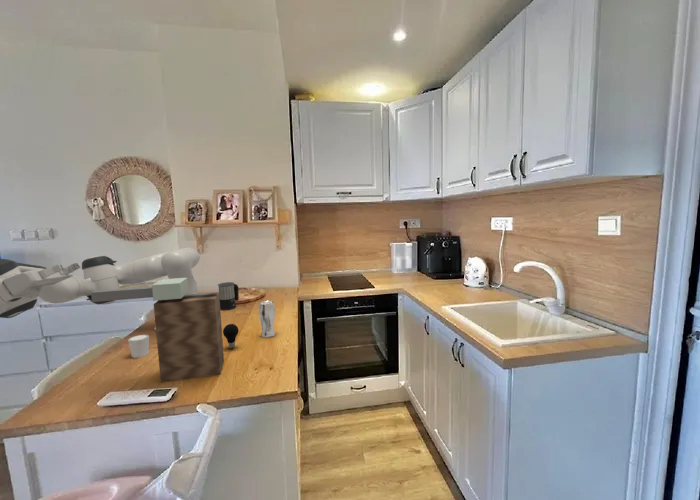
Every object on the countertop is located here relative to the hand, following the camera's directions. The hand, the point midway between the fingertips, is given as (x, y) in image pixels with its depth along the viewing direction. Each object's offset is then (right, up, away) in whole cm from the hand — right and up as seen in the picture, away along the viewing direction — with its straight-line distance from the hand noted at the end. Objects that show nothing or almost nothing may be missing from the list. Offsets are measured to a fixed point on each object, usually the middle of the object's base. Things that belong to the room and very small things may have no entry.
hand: (70, 265), depth 98 cm
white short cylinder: (+4, -37, +27) cm, 45 cm away
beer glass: (+50, -34, +44) cm, 74 cm away
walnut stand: (+33, -37, +11) cm, 51 cm away
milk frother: (+11, -30, +92) cm, 97 cm away
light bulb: (+39, -35, +30) cm, 61 cm away
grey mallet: (+19, -11, +5) cm, 22 cm away
